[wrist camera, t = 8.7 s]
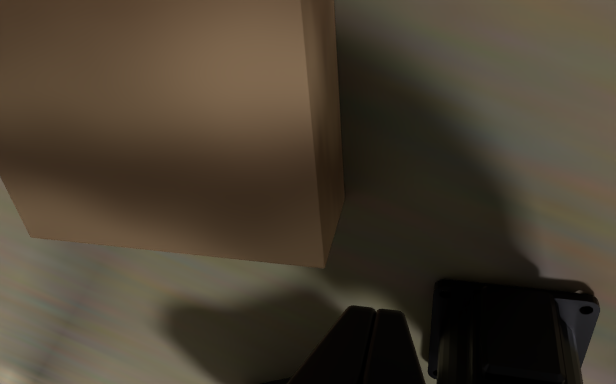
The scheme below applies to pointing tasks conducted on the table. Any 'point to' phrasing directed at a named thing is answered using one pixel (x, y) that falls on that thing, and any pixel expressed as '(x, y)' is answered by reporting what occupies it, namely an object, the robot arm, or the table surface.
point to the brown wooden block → (174, 125)
